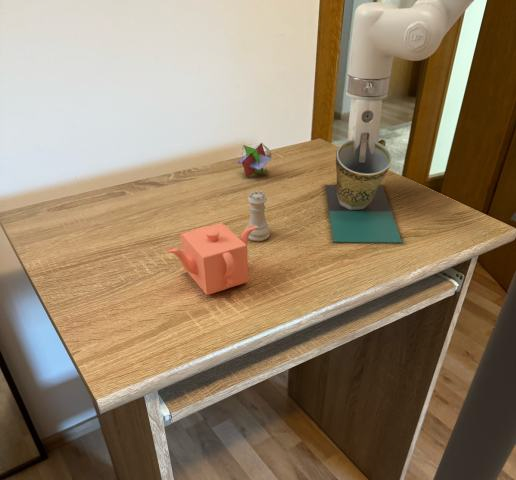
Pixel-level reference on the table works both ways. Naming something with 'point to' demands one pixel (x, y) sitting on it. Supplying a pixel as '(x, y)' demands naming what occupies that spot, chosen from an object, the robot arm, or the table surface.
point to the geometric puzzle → (255, 159)
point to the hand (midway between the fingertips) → (354, 183)
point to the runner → (362, 220)
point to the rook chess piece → (258, 217)
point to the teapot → (214, 257)
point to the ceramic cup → (360, 173)
